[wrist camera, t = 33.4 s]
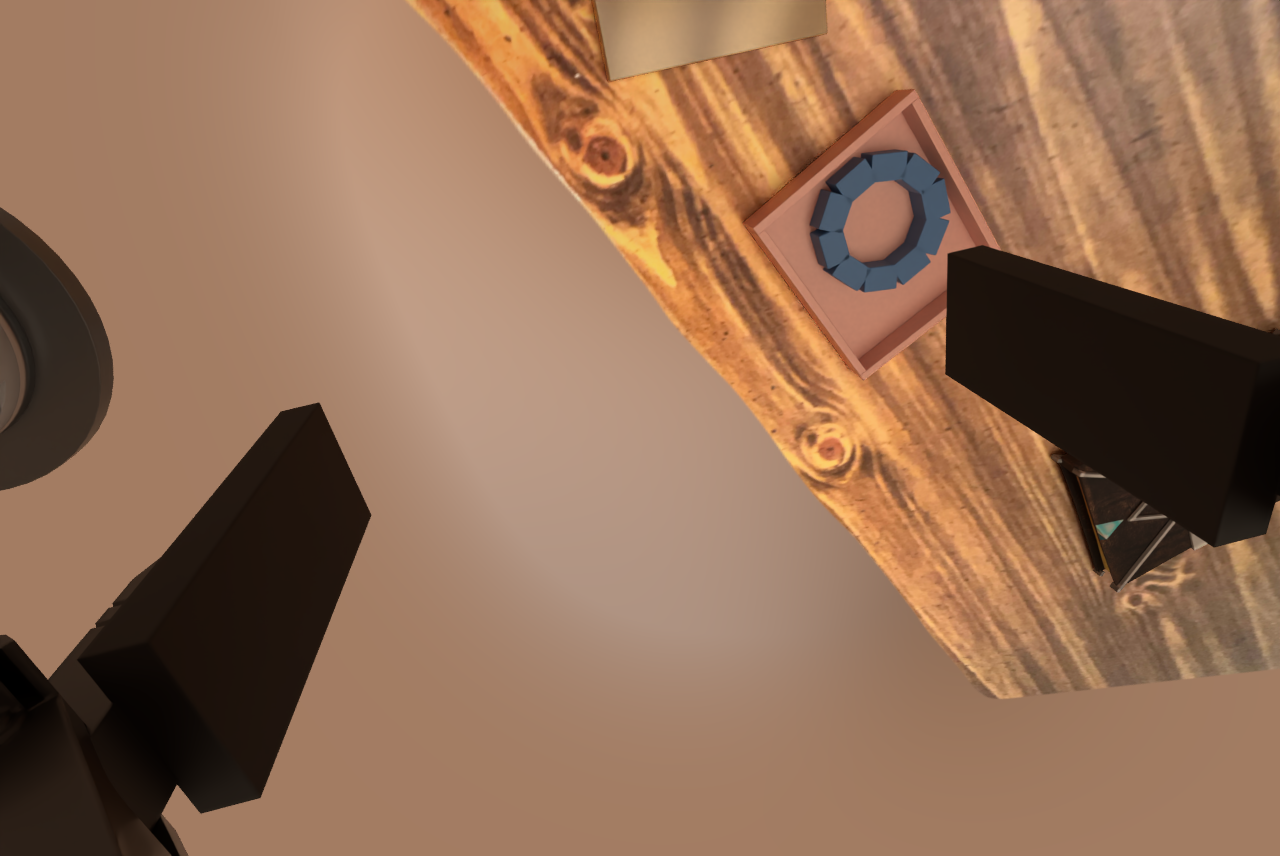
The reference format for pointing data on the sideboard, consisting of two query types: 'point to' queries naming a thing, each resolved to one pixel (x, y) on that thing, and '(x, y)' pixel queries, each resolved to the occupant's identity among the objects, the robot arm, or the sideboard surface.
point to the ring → (922, 233)
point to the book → (1122, 525)
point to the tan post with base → (697, 30)
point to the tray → (871, 238)
